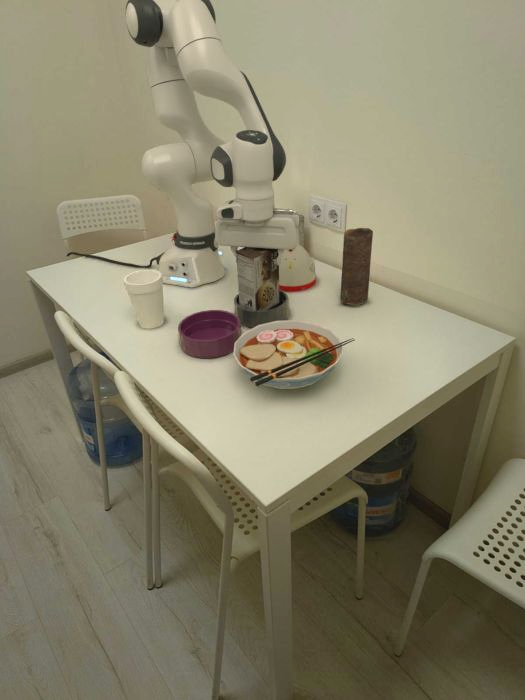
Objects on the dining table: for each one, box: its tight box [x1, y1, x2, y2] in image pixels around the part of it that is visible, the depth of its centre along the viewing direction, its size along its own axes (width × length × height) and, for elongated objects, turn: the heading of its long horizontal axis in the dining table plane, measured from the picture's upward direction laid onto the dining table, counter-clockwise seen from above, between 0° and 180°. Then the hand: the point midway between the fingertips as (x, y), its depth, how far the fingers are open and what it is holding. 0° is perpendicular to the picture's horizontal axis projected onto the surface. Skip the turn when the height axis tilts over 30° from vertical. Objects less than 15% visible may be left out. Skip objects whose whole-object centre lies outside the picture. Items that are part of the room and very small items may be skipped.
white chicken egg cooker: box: [279, 243, 317, 293], centre depth 139 cm, size 14×14×15 cm
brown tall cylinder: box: [339, 227, 374, 306], centre depth 125 cm, size 8×7×20 cm
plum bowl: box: [177, 309, 243, 359], centre depth 115 cm, size 15×15×5 cm
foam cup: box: [122, 269, 165, 330], centre depth 123 cm, size 10×9×13 cm
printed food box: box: [236, 247, 279, 311], centre depth 121 cm, size 9×6×16 cm
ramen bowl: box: [232, 319, 356, 390], centre depth 101 cm, size 25×23×8 cm
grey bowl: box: [233, 289, 290, 329], centre depth 125 cm, size 14×14×5 cm
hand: (258, 263), depth 119 cm, fingers closed on printed food box, 8 cm apart
